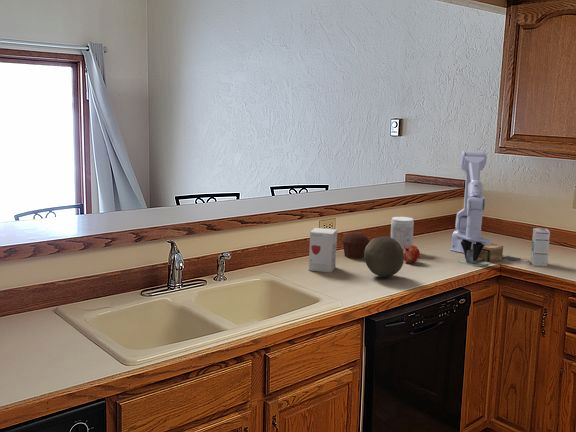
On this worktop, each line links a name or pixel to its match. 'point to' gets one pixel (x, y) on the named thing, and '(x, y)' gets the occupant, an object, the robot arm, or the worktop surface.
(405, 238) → the supplement tub
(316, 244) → the supplement box
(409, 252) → the pomegranate
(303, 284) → the worktop surface
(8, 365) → the worktop surface
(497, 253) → the tunnel
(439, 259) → the worktop surface
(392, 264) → the cantaloupe
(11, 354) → the worktop surface
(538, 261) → the syrup box
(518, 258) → the pit right
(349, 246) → the muffin
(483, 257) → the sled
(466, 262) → the pad
